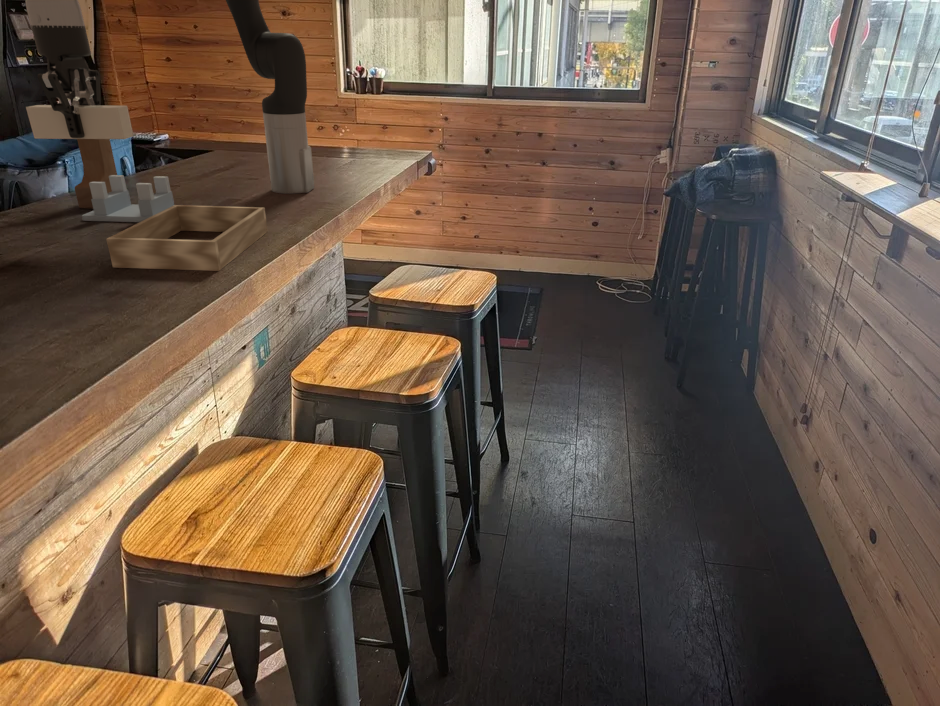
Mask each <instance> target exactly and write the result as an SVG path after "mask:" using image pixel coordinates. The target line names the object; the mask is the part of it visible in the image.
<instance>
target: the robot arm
mask: <svg viewBox="0 0 940 706" xmlns="http://www.w3.org/2000/svg"><path fill="white" fill-rule="evenodd" d="M225 1H226V4H227V6H228V8H229V11H230V14H231V16H232V19H233V21H234V23H235V26H236V29H237V32H238V34H239V37H240V41H241V44H242V46H243V49H244V52H245V54H246V55H245V56H246V57H247V60H248V62H249V65H250V66H251V68H252V69H253V71H254V72H255V73H256V74H257V75H258V76H260V77H261V78H263V79H266V80H268V79H269V80H274V89H273V92H272V93H271V94H269V95H268V96H266V97H264V98H263V99H262V100H261V108H262V110H261V111H262V118H263V126H264V134H265V135H264V136H265V143H266V145H265V146H266V153H267V161H268V171H269V177H270V178H269V179H270V186H271V192H274V193H279V194H301V193H304V194H305V193H307V194H308V193H310V192H311V191H312V190H313V189H315V178H314V167H313V165H314V164H313V155H312V154H313V153H312V147H311V146H310V145H309V142H308V140H309V139H308V130H307V129H308V128H307V118H306V117H307V116H306V101H307V98H308V82H307V61H306V55H305V54H306V53H305V49H304V46H303V44H302V42H301V40H300V38H298V37H297V36H296V35H295V34H293V33H288V32H285V33H284V32H271V30H270V29H269V26H268V25H267V22H266V20H265V18H264V16H263V12H262V9H261V7H260V2H259V0H225ZM25 8H26V12H27V16H28V19H29V23H30V26H31V32H32V34H33V35H32V36H33V39H34V41H35V42H34V43H35V46H36V52H37V53H38V55H39V56H40V57H45V58H46V61H47V71H46V72H45V73H38V74H37V80H38V82H39V84H40V86H41V87H42V90H43V92H44V95H45V97H46V98H47V100H48V102H49V105H51V106H52V108H53V110H54V111H59V112H61V113H62V114H64V117H65V121H66V125H67V129H68V132H69V135H70V137H71V138H83V137H84V136H85V134H84V130H83V126H82V122H81V118H80V114H78V113H79V109H78V105H102V100H101V99H102V96H101V92H102V91H101V74H100V71H99V70H98V69H95V70H94V69H91V68H89V65H88V63H87V61H86V59H85V57H89V56H91V54H92V51H91V46H90V43H89V39H88V37H89V36H88V34H87V30H86V26H85V25H86V24H85V21H84V17H83V12H82V8H81V5H80V2H79V0H25ZM57 99H58V100H57ZM69 100H70V101H69Z"/></svg>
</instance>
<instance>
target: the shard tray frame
mask: <svg viewBox="0 0 940 706" xmlns="http://www.w3.org/2000/svg"><path fill="white" fill-rule="evenodd" d="M181 231H182V232H183V231H185V232H189V231H190V232H212V233H213V232H215V233H217V232H220V233H221V232H222V233H221V234H219V235H217V236H216V237H214V239H208V240H207V239H205V240H204V239H174V238H173V239H172V238H171V237H173V236H175V235H176V234H179V232H181ZM267 233H268V224H267V215H266V208H265V207H264V206H263V207H257V206H256V207H255V206H228V205H227V206H226V205H225V206H221V205H220V206H219V205H188V204H187V205H185V204H184V205H183V204H174V206H172V207H170V208H168V209H166V210H164V211H162V212H160V213H158V214H155V215H153V216H151V217H149V218H147V219H145V220H143V221H141V222H136V223H135V224H134V225H131V226H130V227H128V228H125V229H124V230H121V231H119V232H117V233H115V234H114V235H111V236H109V237H106V239H105V240H106V243H107V247H108V248H107V249H108V252H109V256H110V260H111V261H110V262H111V265H112V266H111V267H112V268H119V269H122V268H123V269H149V270H150V269H151V270H181V271H182V270H183V271H184V270H185V271H211V272H212V271H215V272H219V271H221V270H222V269H224V267H226V266H227V265H229V264H230V263H231V262H232V261H234V259H236V258H238V256H240V255H241V254H242V253H243V252H244V251H246V250H247V249H248V248H250V247H251V246H252V245H253V244H255V243H256V242H257V241H258V240H259V239H260V238H262V237H263V236H264V235H266V234H267Z"/></svg>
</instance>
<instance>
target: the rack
mask: <svg viewBox="0 0 940 706" xmlns="http://www.w3.org/2000/svg"><path fill="white" fill-rule="evenodd" d="M169 179H170V178H169V176H162V175H161V176H159V175H158V176H156V175H155V176H153V183H154V189H155V193H154V190H153V184H152V182H137V183H136V184H135V187H136V192H137V198H138V200H137V204H136V203H135V204H133V203H132V202H131V197H130V191H129V189H127V185H126V184H127V183H126V180H125V176H124V175H122V174H120V175H119V174H117V175H111V176H109V180H110V184H111V189H112V192H109V193H107V189H106V184H105V182H90V183H89V185H90V189H91V194H92V198H93V199H91V201H92V205H93V209H92V211H89V212H86V213H84V214H82V215H81V217H82V221H91V222H122V223H123V222H124V223H125V222H126V223H139V222H141V221H143V220H145V219H147V218H149V217H151V216H153V215H155V214H158V213H160V212H162V211H164V210H166V209H168V208H170V207H172V206H174V205H175V199H174V195H173V191H172V190H171V185H170V180H169Z"/></svg>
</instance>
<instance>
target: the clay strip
mask: <svg viewBox="0 0 940 706" xmlns="http://www.w3.org/2000/svg"><path fill="white" fill-rule="evenodd" d="M25 109H26V112H27V117H28V120H29V123H30V127H31V132H32V134H33V138H34V139H35V140H36V139H37V140H38V139H41V140H42V139H43V140H47V139H48V140H49V139H50V140H52V139H53V140H55V139H57V140H58V139H59V140H62V139H63V140H77V139H110V140H126V139H129V138H132V137H134V131H133V127H132V122H131V117H130V112H129V107H128V105H102V104H101V105H78V109H79V113H78V114H80V118H81V122H82V126H83V130H84V134H85V136H84V137H83V138H71V137H70V135H69V132H68V129H67V125H66V121H65V117H64V114H62V113H61V112H59V111H54V110H53V108H52V106H51V104H36V105H29V106H25Z"/></svg>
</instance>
